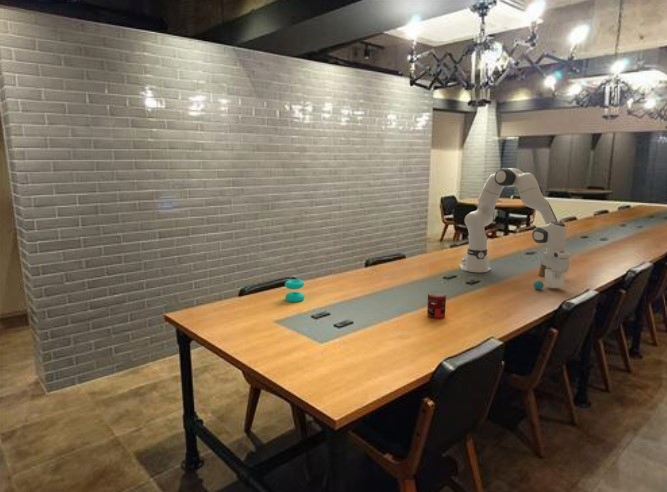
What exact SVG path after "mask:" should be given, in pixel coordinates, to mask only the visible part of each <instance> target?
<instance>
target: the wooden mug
mask: <svg viewBox="0 0 667 492" xmlns="http://www.w3.org/2000/svg"><path fill="white" fill-rule="evenodd" d="M545 269H546V266H545V265H543V264H542V259H541V263H540V267H539V272H538V274H537V275H538V276H539V277H542V278H545ZM551 269H552V268H551Z"/></svg>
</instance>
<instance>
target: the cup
mask: <svg viewBox="0 0 667 492" xmlns="http://www.w3.org/2000/svg"><path fill="white" fill-rule="evenodd" d="M556 275H557V270H554V269H545V277H544V286H547V287H549V288H550V289H557V288H565V273H562V274H561V276H560V279H557V278H556Z"/></svg>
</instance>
